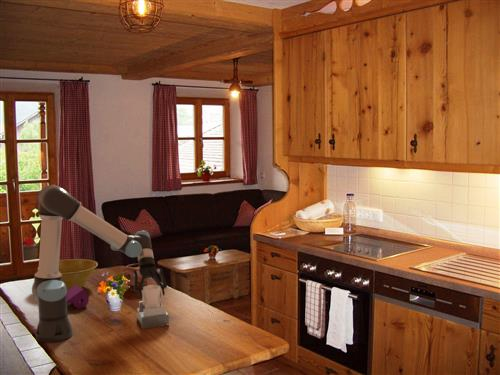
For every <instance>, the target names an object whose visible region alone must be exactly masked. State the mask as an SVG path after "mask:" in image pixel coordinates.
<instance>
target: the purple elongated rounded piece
mask: <svg viewBox="0 0 500 375" xmlns="http://www.w3.org/2000/svg"><path fill="white" fill-rule="evenodd" d="M66 295H67V306H68V305H72V306H73V307H75V308H76V309H83V308H85V307H86V306H87V305H88V303H89V300H90V299H89V295H88V294H87V292H86V291H85V289H84V287H82V288H81V287H79V286H77V285H75V286H74V287H72V288H71V289H70V290H68V291H67V293H66Z"/></svg>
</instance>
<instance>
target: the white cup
mask: <svg viewBox="0 0 500 375" xmlns="http://www.w3.org/2000/svg"><path fill="white" fill-rule="evenodd" d="M143 291H144V297H145V309H146V308H154V307H160V299H161V298H160V286H159V285H157V284H147V286H144V287H143Z"/></svg>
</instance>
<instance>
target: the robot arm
mask: <svg viewBox="0 0 500 375" xmlns="http://www.w3.org/2000/svg"><path fill="white" fill-rule="evenodd" d="M37 203H38V216H39V217H40V218H41V225H40V226H41V227H40V238H39V239H40V240H39V241H40V242H39V258H38V259H39V260H38V267H39V271H38V270H37V272H36V273H34V279H33V283H32V287H31V292H32V296H33V298H34V299H35V301H36V303H37V308H38V324H37V327H36V331H35V339H36V341H37V342H40V343H57V342H61V341H64V340H67V339H69V338H70V337H72V336H73V332H74V331H73V327H72V324H71V321H70V319H69V314H68V305H67V295H66V293H67V289H66V285H65V283H64V282H62V281H61V280H62V274H61V273H60V272H59V260H60V254H61V238H62V227H63V226H62V223H63V222H62V221H63V219H64V220H66V221H67V222H68V221H72V222H73V223H75V224H77V226H80V227H81V228H83V229H85V230H86V231H88V232H90V233H91V234H93V235H95V236H97V238H99V239H100V240H102V241H104V242H105V243H107V244H109V245H110V249H111V250H112V251H115V252H116V251H117V252H118V251H119V252H122V253H123V254H125V255H126V256H127V257H130V258H137V261H138V264H139V271H134V277H135V285H134V291H133V292H135V293H138V296H139V299H141V301H142V302H143V306H144V305H145V297H144V291H143V290H142V287H143V284H144V281H145V278H148V279H152V280H153V281H154V282H155V284H156V285H159V286H160V299H161V304H164V301H165V300H164V296H165V294H166V292H165V289H167V288H168V282H167V281H166V277H165V276H164V272H163V270H164V269H163V268H162V267H161V268H157V267H156V262H155V257H154V252H153V247H152V240H151V236H150V233H149V232H148V231H147V230H141V231H140V230H139V231H137V232H135V234H134V235H131V234H130V235H129V234H126V233H124V232H123V231H121V230H119V229H118V228H117V227H115V226H113V225H112V224H111V223H109V222H107V221H106V220H104V219H103V218H101V217H100V216H98V215H97V214H95V213H94V212H92V211H90V210H89V209H87V208H86V207H84V206H83V205H82V202H81V201H79V200H78V199H76V197H74V196H72V195H71V194H70V193H69V191H67V190H66V189H64V188H63V187H61V186H59V185H58V184H57V185H56V184H50V185H46V186H44V187H43V188H41V190H39V192H38V194H37ZM139 273H140V274H141V275H142V276H143V277H142V280H141V284H140V287H139V288H137V285H138V275H139ZM157 274H159V277H158V276H157ZM159 278H160V279H159Z"/></svg>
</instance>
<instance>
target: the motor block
mask: <svg viewBox="0 0 500 375" xmlns="http://www.w3.org/2000/svg"><path fill="white" fill-rule="evenodd" d="M136 311H137V312H136V313H137V317H136V318H137V321H138V323H139V325H140V327H141V328H142V330H143V329H150V328H151V327H152V328H157V327H156V326H159V327H162V326H161V325H166V326H168V325H167V324H169V325H170V317H169V313H168V312H167V307H166V306H165V305H162V303H161V298H160V307H154V308H146V309H145V305H144V306H143V302H142V300H141V301H139V306H138V307H137V309H136ZM152 328H151V329H152Z"/></svg>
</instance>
